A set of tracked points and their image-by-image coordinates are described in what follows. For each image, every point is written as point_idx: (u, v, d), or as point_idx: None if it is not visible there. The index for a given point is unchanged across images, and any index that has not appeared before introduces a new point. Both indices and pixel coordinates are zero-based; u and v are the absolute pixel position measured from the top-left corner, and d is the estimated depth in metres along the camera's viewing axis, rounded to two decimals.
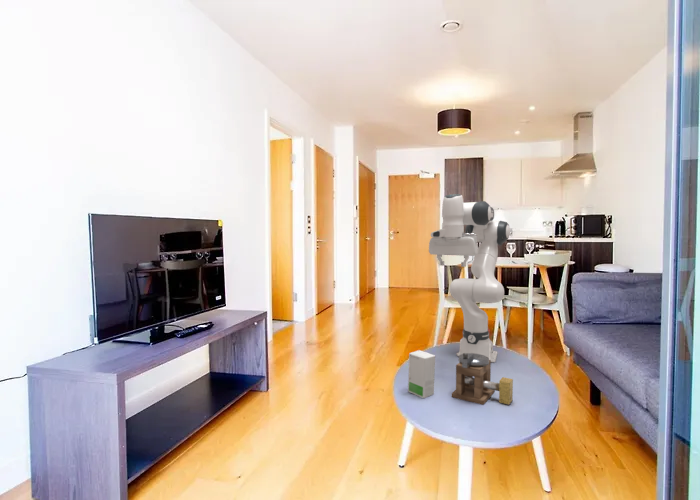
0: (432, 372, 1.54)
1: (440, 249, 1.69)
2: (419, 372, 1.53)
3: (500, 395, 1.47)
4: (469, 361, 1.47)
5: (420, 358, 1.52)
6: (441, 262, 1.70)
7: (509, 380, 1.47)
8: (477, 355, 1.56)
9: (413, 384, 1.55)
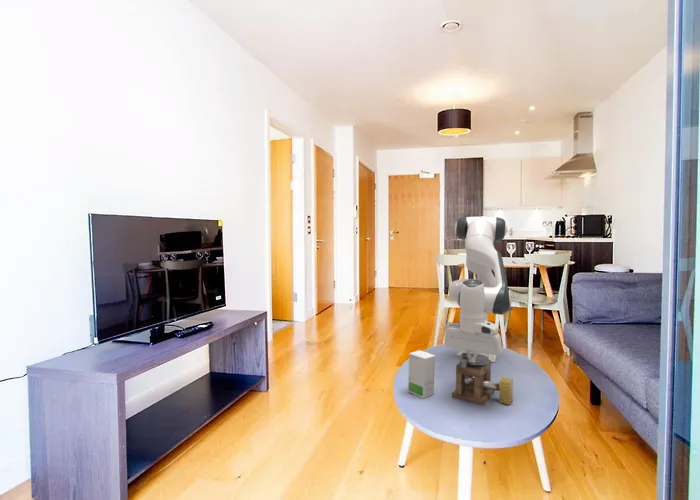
0: (432, 372, 1.54)
1: None
2: (419, 372, 1.53)
3: (500, 395, 1.47)
4: (468, 361, 1.47)
5: (420, 358, 1.52)
6: None
7: (509, 380, 1.47)
8: (477, 355, 1.56)
9: (413, 384, 1.55)
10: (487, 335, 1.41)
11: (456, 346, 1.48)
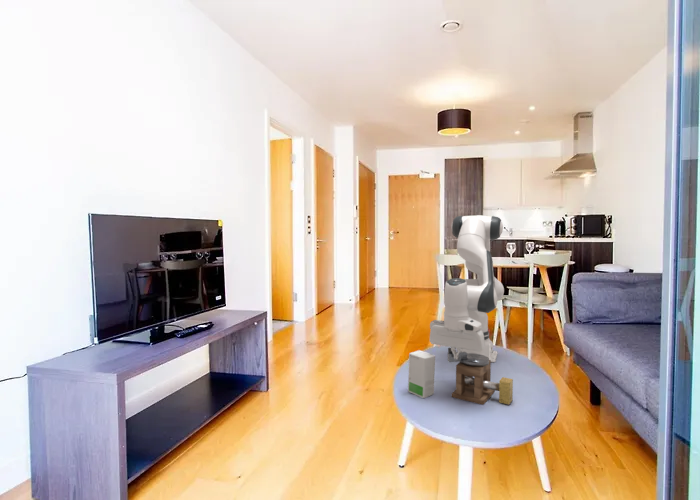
0: (432, 372, 1.54)
1: None
2: (419, 372, 1.53)
3: (500, 395, 1.47)
4: None
5: (420, 358, 1.52)
6: None
7: (509, 380, 1.47)
8: (482, 357, 1.54)
9: (413, 384, 1.55)
10: (470, 332, 1.45)
11: (441, 343, 1.52)
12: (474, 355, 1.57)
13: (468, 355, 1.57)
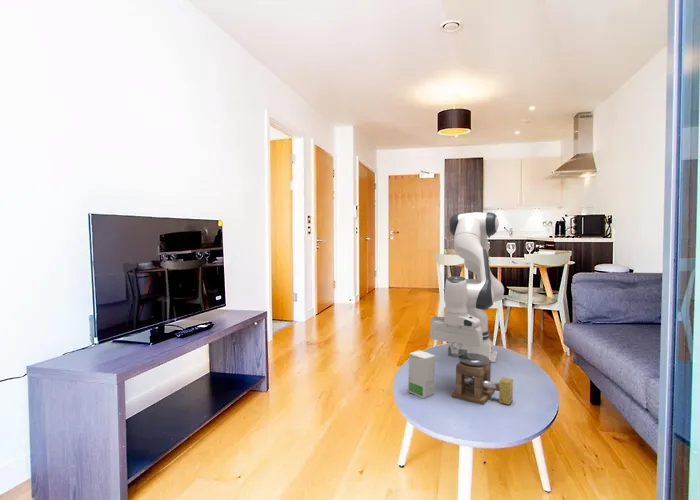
0: (432, 372, 1.54)
1: None
2: (419, 372, 1.53)
3: (500, 395, 1.47)
4: None
5: (420, 358, 1.52)
6: None
7: (509, 380, 1.47)
8: (482, 359, 1.51)
9: (413, 384, 1.55)
10: (469, 328, 1.50)
11: (441, 338, 1.58)
12: (479, 356, 1.55)
13: (474, 355, 1.57)
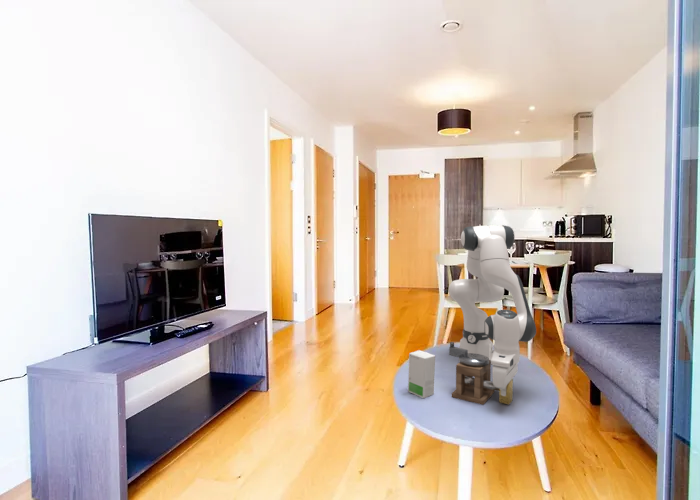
0: (432, 372, 1.54)
1: (507, 379, 1.42)
2: (419, 372, 1.53)
3: (500, 395, 1.47)
4: (454, 351, 1.59)
5: (420, 358, 1.52)
6: (506, 391, 1.45)
7: None
8: (481, 360, 1.51)
9: (413, 384, 1.55)
10: None
11: None
12: (480, 357, 1.55)
13: (475, 355, 1.57)
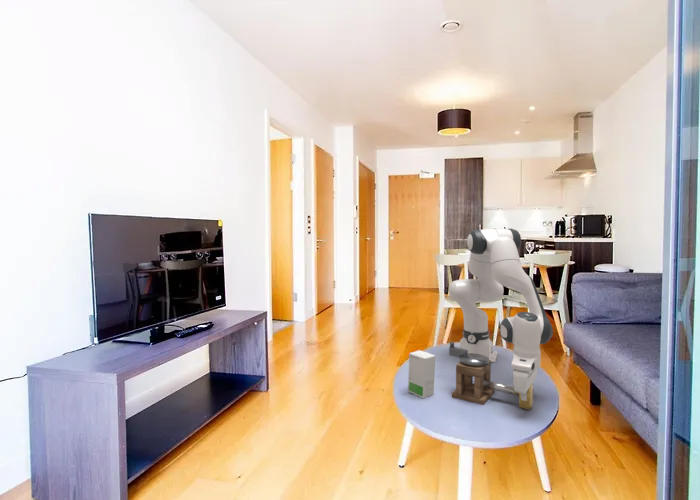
0: (432, 372, 1.54)
1: (528, 383, 1.38)
2: (419, 372, 1.53)
3: (520, 400, 1.43)
4: (454, 351, 1.59)
5: (420, 358, 1.52)
6: (526, 396, 1.41)
7: None
8: (481, 360, 1.51)
9: (413, 384, 1.55)
10: None
11: None
12: (480, 357, 1.55)
13: (475, 355, 1.57)
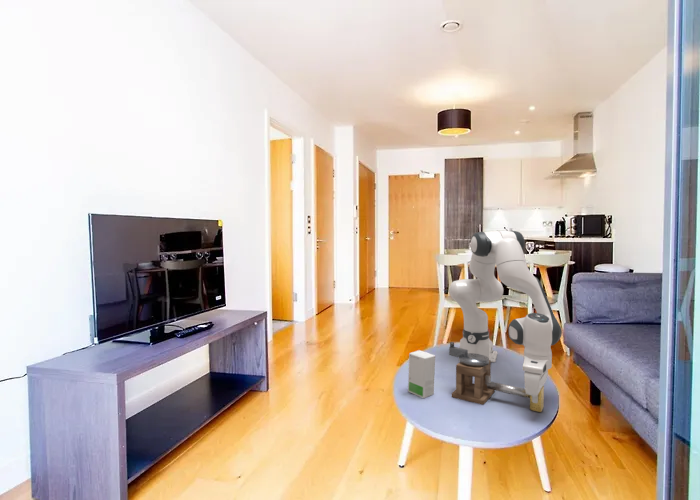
0: (432, 372, 1.54)
1: (540, 385, 1.36)
2: (419, 372, 1.53)
3: (531, 402, 1.40)
4: (454, 351, 1.59)
5: (420, 358, 1.52)
6: None
7: None
8: (481, 360, 1.51)
9: (413, 384, 1.55)
10: None
11: None
12: (480, 357, 1.55)
13: (475, 355, 1.57)
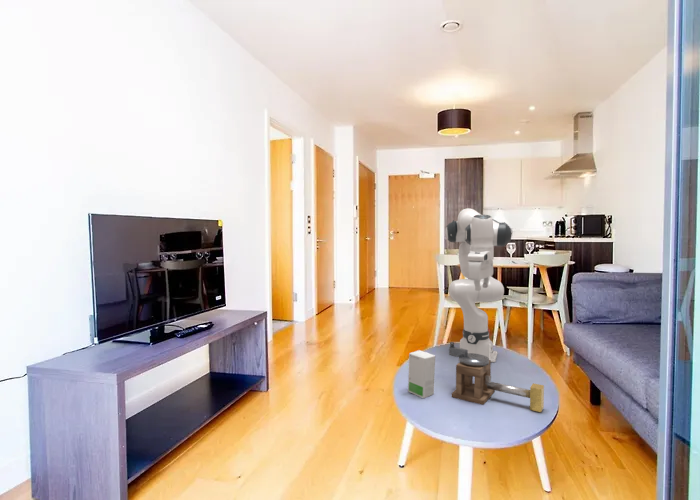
0: (432, 372, 1.54)
1: (482, 273, 1.57)
2: (419, 372, 1.53)
3: (531, 402, 1.40)
4: (454, 351, 1.59)
5: (420, 358, 1.52)
6: (480, 287, 1.58)
7: (540, 386, 1.41)
8: (481, 360, 1.51)
9: (413, 384, 1.55)
10: None
11: None
12: (480, 357, 1.55)
13: (475, 355, 1.57)
